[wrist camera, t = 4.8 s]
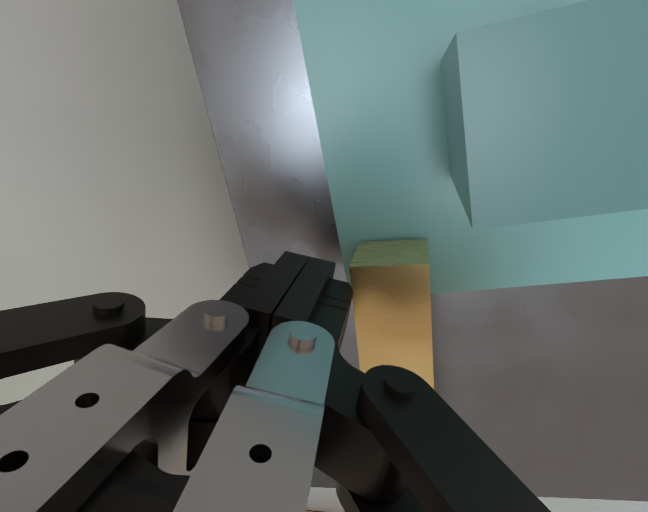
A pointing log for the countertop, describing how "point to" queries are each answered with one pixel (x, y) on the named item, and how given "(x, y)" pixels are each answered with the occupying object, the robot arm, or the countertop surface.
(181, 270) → the countertop surface
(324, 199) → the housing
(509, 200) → the cover
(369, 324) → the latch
